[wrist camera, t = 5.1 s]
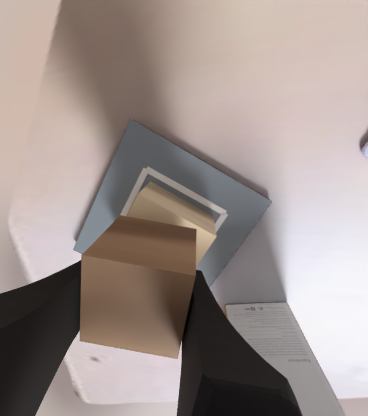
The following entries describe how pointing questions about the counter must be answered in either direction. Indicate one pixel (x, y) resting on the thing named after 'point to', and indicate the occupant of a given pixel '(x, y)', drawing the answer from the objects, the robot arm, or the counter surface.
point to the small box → (286, 353)
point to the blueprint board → (178, 185)
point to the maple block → (174, 214)
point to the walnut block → (138, 286)
